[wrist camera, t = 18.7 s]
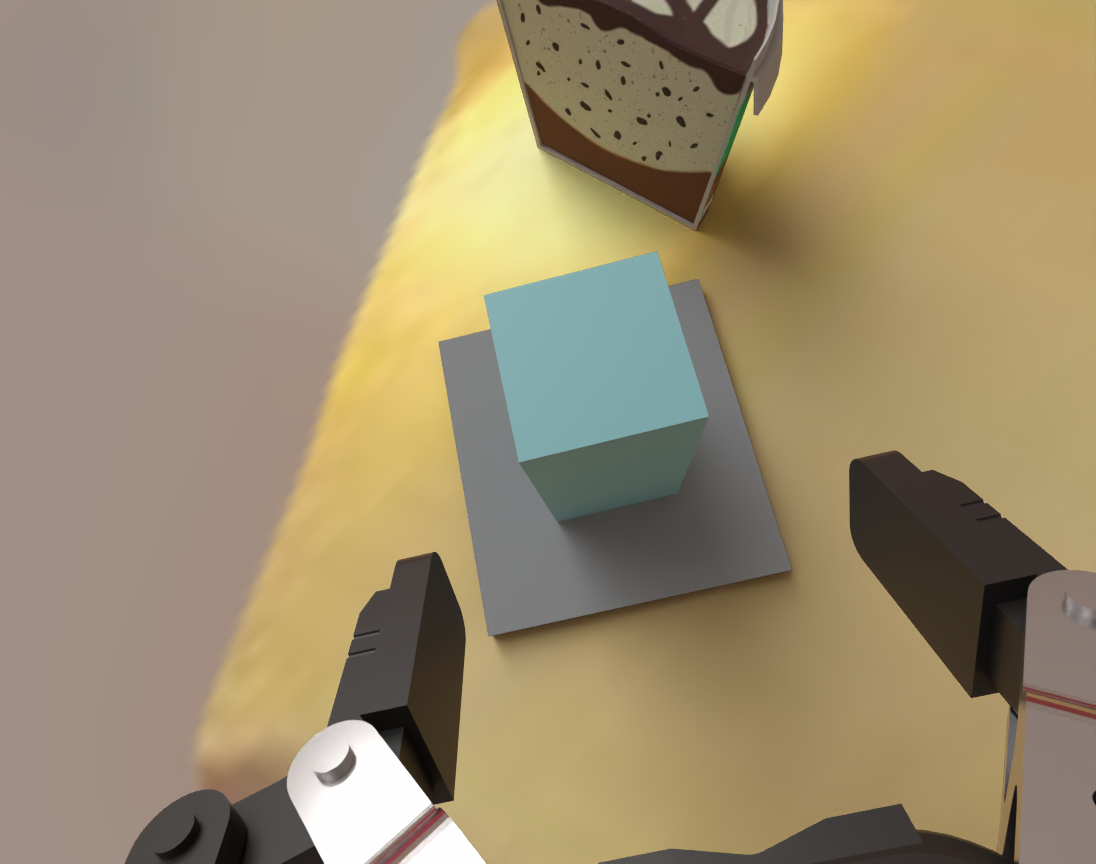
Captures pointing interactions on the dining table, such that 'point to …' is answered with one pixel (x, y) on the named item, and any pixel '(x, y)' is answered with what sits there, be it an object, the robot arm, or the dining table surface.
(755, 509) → the grey mat
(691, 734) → the dining table surface
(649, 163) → the food container
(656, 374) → the teal block
